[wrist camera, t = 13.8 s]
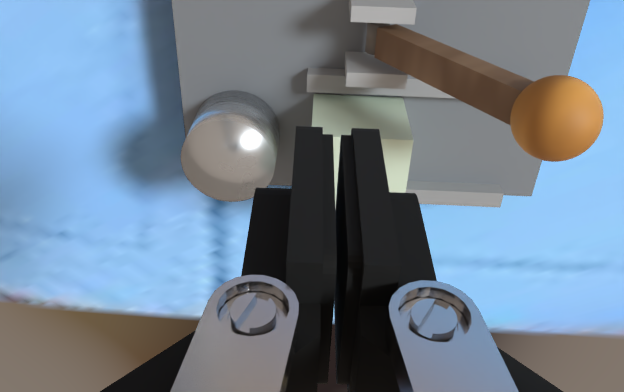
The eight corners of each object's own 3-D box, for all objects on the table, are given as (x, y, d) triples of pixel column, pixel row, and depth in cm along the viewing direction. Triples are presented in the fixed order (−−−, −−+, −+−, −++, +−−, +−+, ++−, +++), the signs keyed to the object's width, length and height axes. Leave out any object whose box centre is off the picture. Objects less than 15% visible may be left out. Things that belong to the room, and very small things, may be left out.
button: (191, 88, 26) (176, 118, 23) (280, 92, 26) (274, 122, 23) (198, 164, 28) (185, 199, 25) (280, 168, 28) (275, 203, 25)
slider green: (313, 93, 26) (310, 135, 22) (403, 97, 26) (413, 140, 22) (310, 169, 28) (307, 218, 24) (392, 173, 28) (401, 222, 24)
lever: (347, 5, 22) (579, 104, 15) (397, -3, 23) (634, 85, 16) (343, 70, 23) (553, 186, 17) (391, 58, 25) (605, 163, 18)
